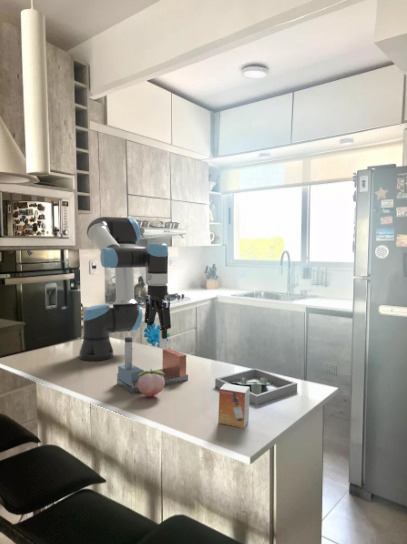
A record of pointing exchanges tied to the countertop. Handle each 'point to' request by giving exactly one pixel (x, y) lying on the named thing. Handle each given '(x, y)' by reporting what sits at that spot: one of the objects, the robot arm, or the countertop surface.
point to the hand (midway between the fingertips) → (157, 344)
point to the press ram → (128, 365)
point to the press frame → (165, 370)
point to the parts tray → (261, 398)
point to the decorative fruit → (151, 382)
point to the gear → (153, 334)
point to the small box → (234, 405)
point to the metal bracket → (254, 384)
